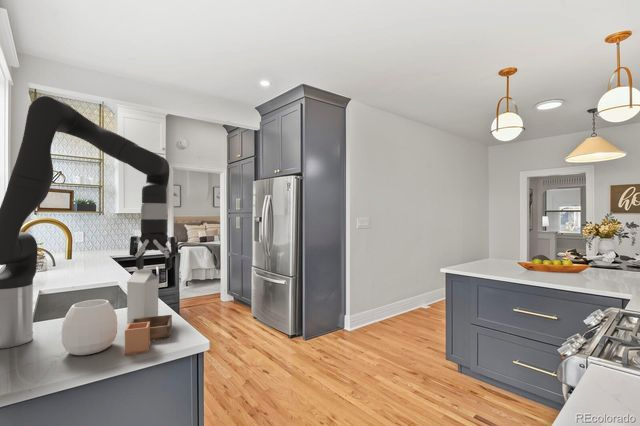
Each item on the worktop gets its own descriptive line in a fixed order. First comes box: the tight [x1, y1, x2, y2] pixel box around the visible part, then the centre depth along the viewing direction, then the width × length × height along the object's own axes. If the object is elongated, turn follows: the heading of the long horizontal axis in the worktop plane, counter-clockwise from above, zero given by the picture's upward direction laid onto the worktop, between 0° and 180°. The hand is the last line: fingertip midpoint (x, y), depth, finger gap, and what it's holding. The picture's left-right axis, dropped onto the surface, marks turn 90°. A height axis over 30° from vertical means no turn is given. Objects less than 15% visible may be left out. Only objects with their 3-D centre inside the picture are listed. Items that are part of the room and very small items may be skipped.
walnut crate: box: [130, 314, 173, 342], centre depth 106 cm, size 12×12×4 cm
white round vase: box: [61, 299, 118, 356], centre depth 94 cm, size 13×13×14 cm
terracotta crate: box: [124, 322, 151, 356], centre depth 94 cm, size 6×6×7 cm
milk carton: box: [126, 268, 159, 325], centre depth 119 cm, size 7×7×19 cm
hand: (154, 269), depth 103 cm, fingers open, 8 cm apart
